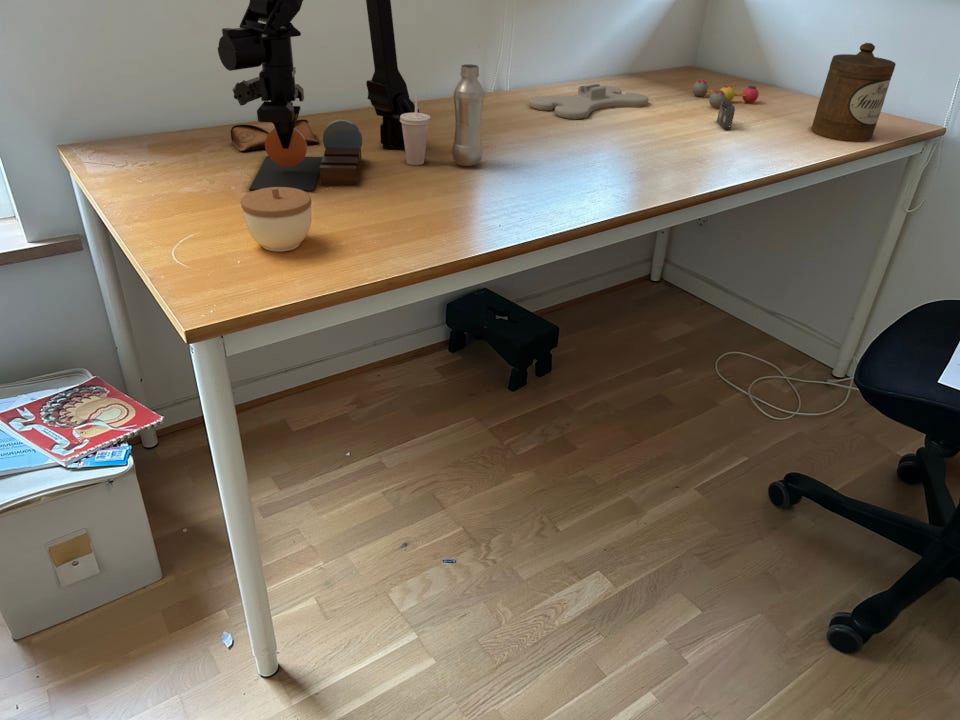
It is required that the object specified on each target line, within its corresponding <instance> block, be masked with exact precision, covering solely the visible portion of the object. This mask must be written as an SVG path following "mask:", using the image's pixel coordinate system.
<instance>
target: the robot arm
mask: <svg viewBox="0 0 960 720" xmlns="http://www.w3.org/2000/svg"><path fill="white" fill-rule="evenodd" d="M391 1H392V0H365V3H366V4H365V5H366V12H367V19H368V20H367V21H368V28H369V36H370V43H371V52H372V60H373V67H374V72H373V75H372V77H371V79H368V80H366V81H365V82H366V83H365V84H366V88H367V100H369V101H370V104H371V106H372V107H373V108H374V111H375V115H376V116H378V117H382V122H380V125H379V129H380V130H379V131H380V134H379V135H380V144H381V145H382V149H384V150H386V149H387V150H405V145H404V137H403V130H402V123H401V122H400V116H401V115H402V114H405V113H415V102H413V101H412V99H410V94H409V91H408V86H407V83H406V80H405V78H403V76H402V74H401V72H400V70H399V66H398V57H397V48H396V39H395V30H394V20H393V10H392V2H391ZM303 2H304V0H249V3H248V6H247V8H246V10H245V13H244V15H243V16H242V19H241V21H240V23H239V27H236V28H235V27H234V28H232V27H223V28H222V29H221V33H222V36H221V37H220V38H219V41H218V46H217V53H218V57H219V60H220V62H221V64H222V66H223V67H224V68H225V69H226V70H227V71H230V72H231V71H238V70H245V69H252V68H260V66H261V70H260V71H259V73H258V76H256V77H253V78H250V79H248V80H245V79H243V80H242V81H240V82H239V81H238V82H236V83H235V86H234V87H233V88H232V92H233V98H234V100H237V102H238V104H239V105H240V106H246V105H247V103H250V102H253V101H255V100H258V99H261V102H262V103H261V104H260V105H259V107H258V108H257V110H256V117H257V122H259V123H273V124H274V126H275V129H276V131H277V134H278V137H279V139H280V142H281V145H282V147H283V149H288V148H289V145H290V141H291V137H292V133H293V130H294V128H295V126H296V122H297V120H299V119H298V118H299V115H300V111H301V108H302V107H301V105H294V102H295V101H296V99H298V100H299V102H304V100H305V91H304V88H303V87H302V86H301V85H300V84H299V83H296V77H295V75H296V73H297V70H296V66H294V58H293V57H294V56H293V55H294V54H293V46H292V38H295V37H301V35H302V33H301V31H300V30H299V29H298V28H297V27H295V26H294V24H293V23H292V21H293V20H294V18H295V17H296V16H297V14H298V13H299V12H300V11H301V8H302V5H303ZM418 113H420V109H419V108H418Z"/></svg>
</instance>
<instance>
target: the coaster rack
mask: <svg viewBox="0 0 960 720" xmlns="http://www.w3.org/2000/svg"><path fill="white" fill-rule="evenodd" d="M322 157H323V158H322V161H321V165H320V168H319V169H320V172H319V180H320V186H348V187H349V186H350V187H351V186H353V187H354V186H355V187H356V186H358V182H359V176H360V171H361V165H362V160H363V159H362V148H361V149H348V148H326V149H325V148H324V152H323V156H322Z"/></svg>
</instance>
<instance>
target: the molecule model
mask: <svg viewBox="0 0 960 720" xmlns="http://www.w3.org/2000/svg"><path fill="white" fill-rule="evenodd" d="M708 92H710V93H711V94H710V96H709V98H708V102H709V105H710V106H711V108H714V109H719V108H720V103H721V99H726V100H727V101H729V102H730V103H731V101H732V100H733V99H734V97H742V100H743V101H744V102H745V103H747V104H752V103H755V102H756V101H757V100H758V98H759V94H760V93H759V90H758V88H757V86H756V85H748V86H747V87H746V88H745V89H744V90H743V92H735V90H734V88H733V86H732V85H730V84H729V85H728V84H727V85H726V84H725V85H723V87H722V88H720V89H719V90H718V89H717V90H715V89H714V90H712V89H709V85H708V81H706V80H705V79H696V82H695V83H694V84H693V86H692V93H693V95H694V96H696V97H699V98H700V97H701V98H702V97H704V96H705V95H706V94H707V93H708Z"/></svg>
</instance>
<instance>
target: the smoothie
mask: <svg viewBox="0 0 960 720" xmlns="http://www.w3.org/2000/svg"><path fill="white" fill-rule="evenodd" d="M418 97H419V96H418V95H417V94H415V95H414V105H415V113H405V114H402V115H401V116H400V122H401V123H402V130H403V137H404V145H405V149H404V151H405V159H406V163H407V164H408V165H411V166H420V165H421V166H422V165H424V163H425V157H426V150H427V143H428V142H427V141H428V133H429V125H430V123H431V116H430V115H429V114H427V113H422V112H419V113H418V109H419V108H418Z"/></svg>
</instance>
